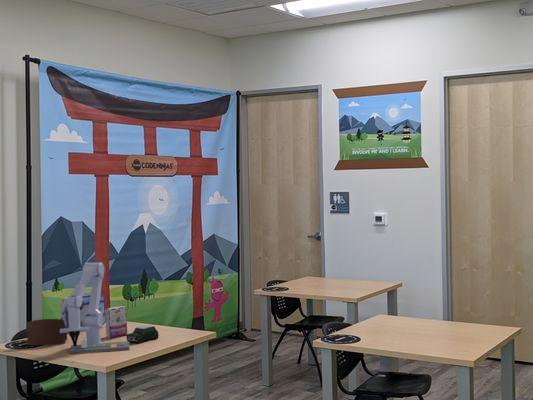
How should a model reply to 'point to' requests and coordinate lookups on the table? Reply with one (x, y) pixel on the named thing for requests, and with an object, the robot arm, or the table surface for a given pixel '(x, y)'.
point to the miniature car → (143, 333)
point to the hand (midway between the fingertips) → (75, 346)
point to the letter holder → (46, 332)
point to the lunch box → (82, 309)
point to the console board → (100, 347)
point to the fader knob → (83, 343)
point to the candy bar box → (116, 321)
